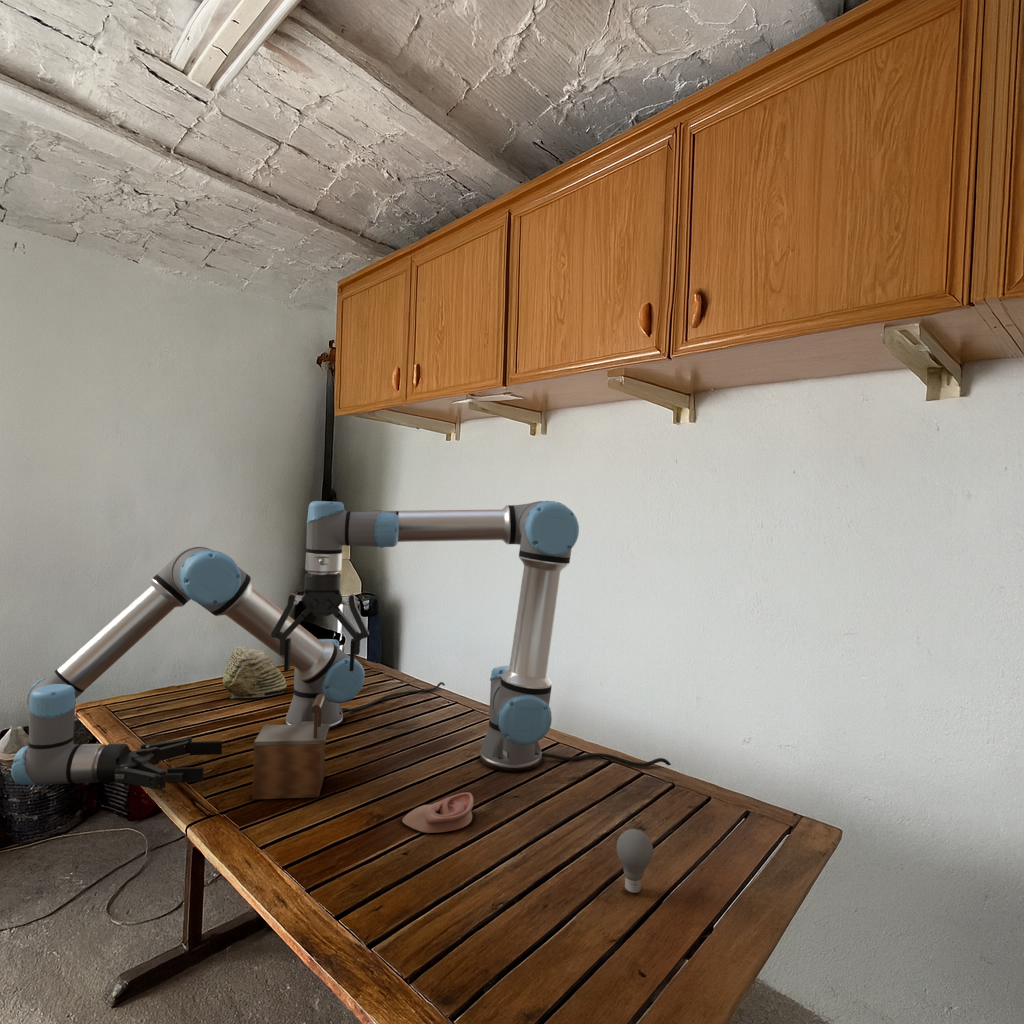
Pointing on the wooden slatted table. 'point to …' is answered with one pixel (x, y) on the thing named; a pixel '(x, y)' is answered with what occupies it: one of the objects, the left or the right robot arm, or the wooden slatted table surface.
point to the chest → (288, 771)
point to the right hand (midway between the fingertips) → (319, 669)
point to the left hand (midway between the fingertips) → (213, 760)
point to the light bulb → (634, 857)
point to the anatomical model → (442, 814)
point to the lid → (296, 730)
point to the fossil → (252, 674)
